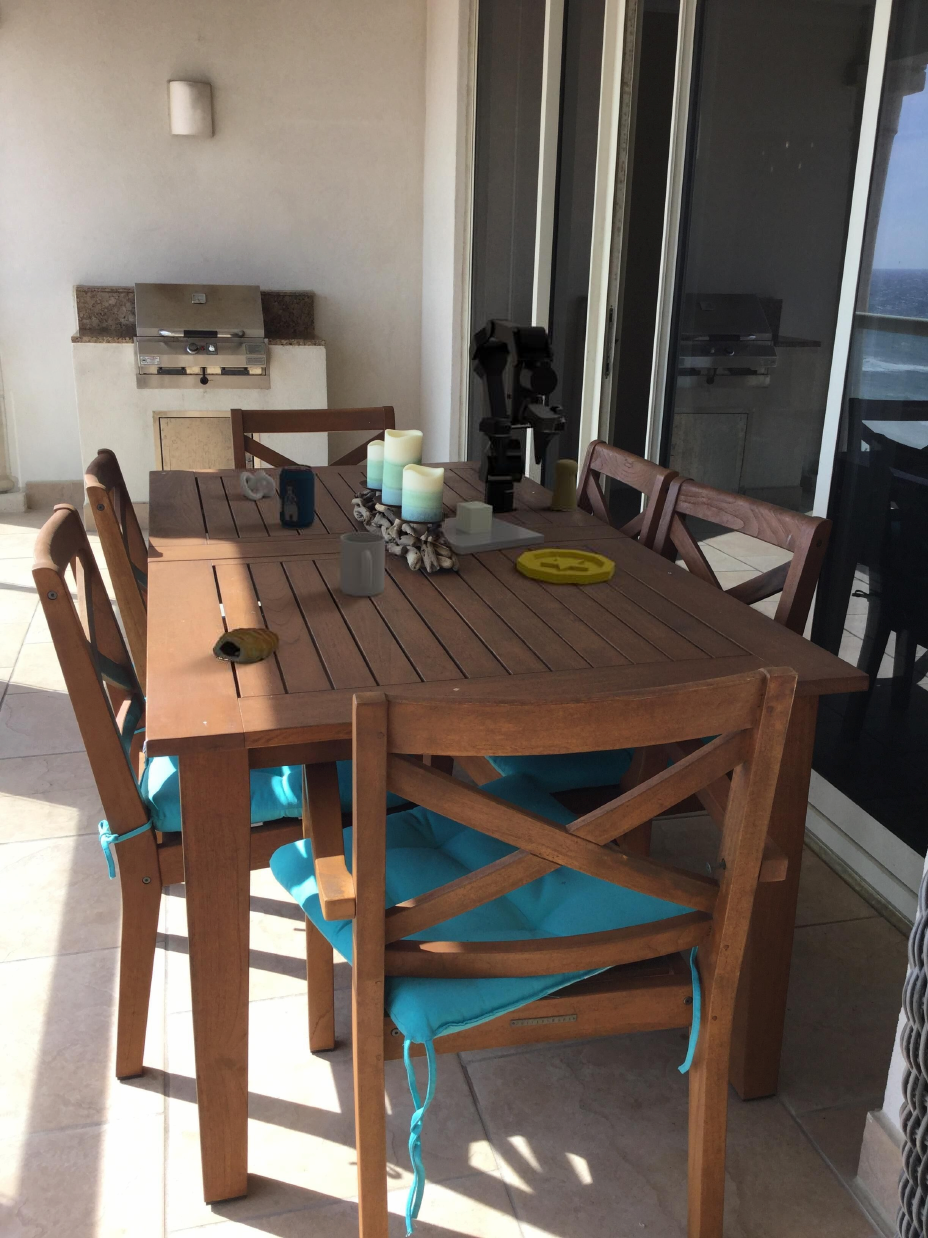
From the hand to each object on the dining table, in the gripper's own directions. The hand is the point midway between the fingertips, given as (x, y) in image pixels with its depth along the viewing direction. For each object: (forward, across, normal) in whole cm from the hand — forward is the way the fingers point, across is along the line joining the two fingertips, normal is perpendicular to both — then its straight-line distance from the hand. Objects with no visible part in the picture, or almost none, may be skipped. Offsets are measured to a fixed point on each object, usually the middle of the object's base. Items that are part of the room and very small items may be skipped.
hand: (520, 465), depth 218 cm
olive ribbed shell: (+12, -82, -45) cm, 94 cm away
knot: (+12, -39, +45) cm, 61 cm away
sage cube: (+10, -16, -6) cm, 20 cm away
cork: (+12, +18, +6) cm, 23 cm away
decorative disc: (+13, -15, -33) cm, 38 cm away
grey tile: (+12, -16, -6) cm, 21 cm away
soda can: (+12, -43, +17) cm, 48 cm away
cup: (+12, -54, -28) cm, 62 cm away
